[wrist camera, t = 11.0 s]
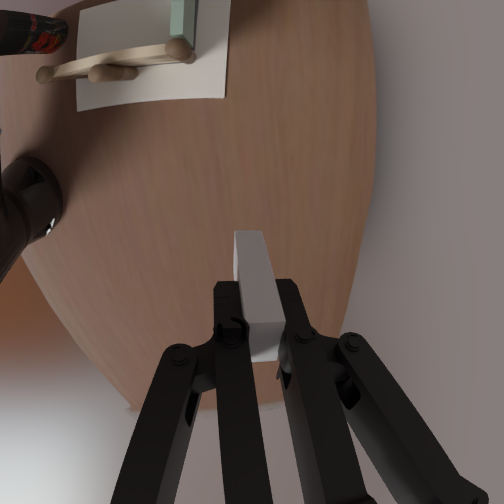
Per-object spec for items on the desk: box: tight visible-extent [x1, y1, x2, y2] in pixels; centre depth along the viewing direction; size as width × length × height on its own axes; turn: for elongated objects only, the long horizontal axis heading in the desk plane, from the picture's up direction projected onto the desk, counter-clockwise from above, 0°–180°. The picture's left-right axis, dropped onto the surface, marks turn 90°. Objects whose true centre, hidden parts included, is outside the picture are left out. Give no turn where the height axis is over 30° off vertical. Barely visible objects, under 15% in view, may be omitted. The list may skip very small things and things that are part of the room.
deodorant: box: [0, 10, 68, 56], centre depth 16 cm, size 6×6×15 cm
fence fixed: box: [36, 38, 196, 83], centre depth 24 cm, size 17×4×12 cm, turn 86°
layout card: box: [76, 0, 231, 112], centre depth 27 cm, size 22×17×1 cm
